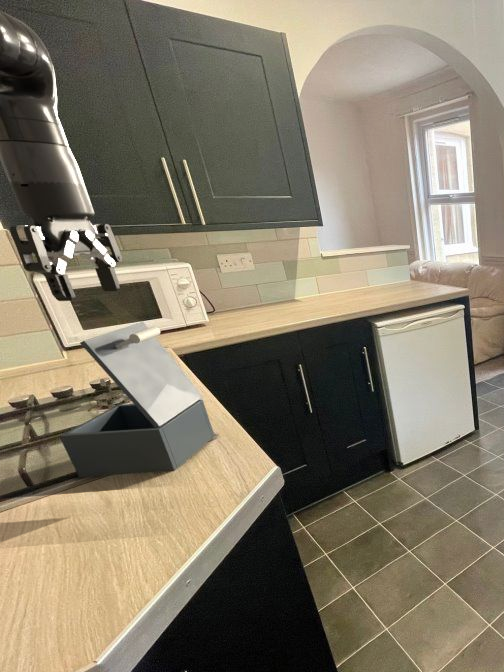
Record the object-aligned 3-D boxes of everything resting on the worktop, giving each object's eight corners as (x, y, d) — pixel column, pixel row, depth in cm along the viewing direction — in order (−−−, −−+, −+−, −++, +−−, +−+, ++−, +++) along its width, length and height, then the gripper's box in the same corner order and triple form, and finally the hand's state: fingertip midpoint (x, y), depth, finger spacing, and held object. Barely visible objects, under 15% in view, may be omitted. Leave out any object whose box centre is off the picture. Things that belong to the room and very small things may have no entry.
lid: (79, 342, 64) (108, 329, 64) (139, 323, 76) (164, 311, 75) (155, 428, 70) (182, 416, 70) (200, 398, 82) (223, 387, 81)
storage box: (83, 485, 73) (58, 436, 69) (136, 448, 84) (117, 404, 81) (177, 478, 74) (158, 429, 70) (217, 443, 86) (202, 399, 82)
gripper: (63, 184, 66) (101, 288, 72) (-38, 176, 53) (19, 304, 59) (115, 184, 67) (148, 288, 73) (28, 176, 53) (77, 303, 59)
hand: (90, 295), depth 66 cm, fingers open, 8 cm apart
